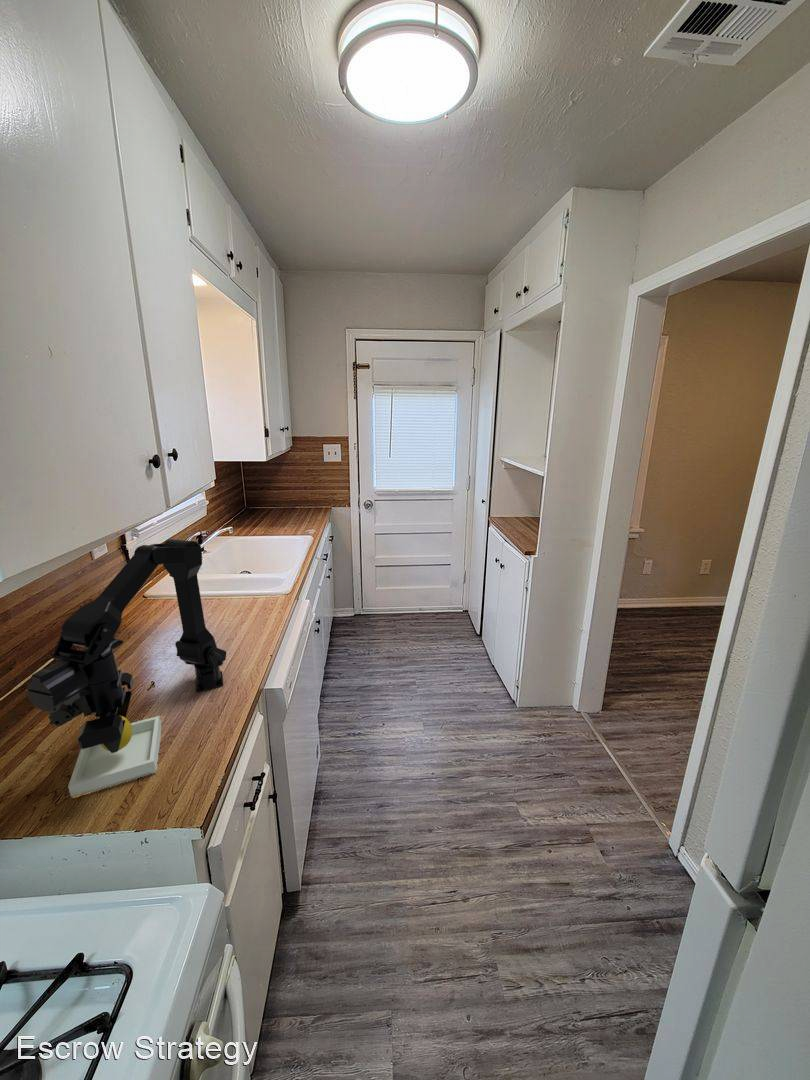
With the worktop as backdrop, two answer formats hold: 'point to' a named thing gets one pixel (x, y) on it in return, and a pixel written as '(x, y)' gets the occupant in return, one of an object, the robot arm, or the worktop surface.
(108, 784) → the tray
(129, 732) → the lemon
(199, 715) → the worktop surface
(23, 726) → the worktop surface
